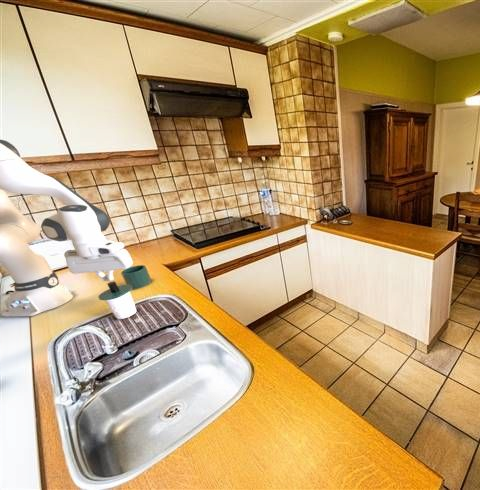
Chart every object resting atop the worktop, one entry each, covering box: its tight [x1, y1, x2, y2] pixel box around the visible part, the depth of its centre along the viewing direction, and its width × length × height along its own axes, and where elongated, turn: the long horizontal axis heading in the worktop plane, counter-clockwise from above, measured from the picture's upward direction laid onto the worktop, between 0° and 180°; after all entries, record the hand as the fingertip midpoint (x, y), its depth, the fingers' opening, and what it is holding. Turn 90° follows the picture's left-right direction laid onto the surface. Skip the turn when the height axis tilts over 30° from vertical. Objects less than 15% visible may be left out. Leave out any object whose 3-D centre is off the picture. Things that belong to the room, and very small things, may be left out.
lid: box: [97, 281, 133, 301], centre depth 107 cm, size 10×10×5 cm
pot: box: [120, 264, 152, 290], centre depth 133 cm, size 9×9×8 cm
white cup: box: [104, 291, 137, 320], centre depth 109 cm, size 8×8×10 cm
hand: (108, 280), depth 105 cm, fingers closed
